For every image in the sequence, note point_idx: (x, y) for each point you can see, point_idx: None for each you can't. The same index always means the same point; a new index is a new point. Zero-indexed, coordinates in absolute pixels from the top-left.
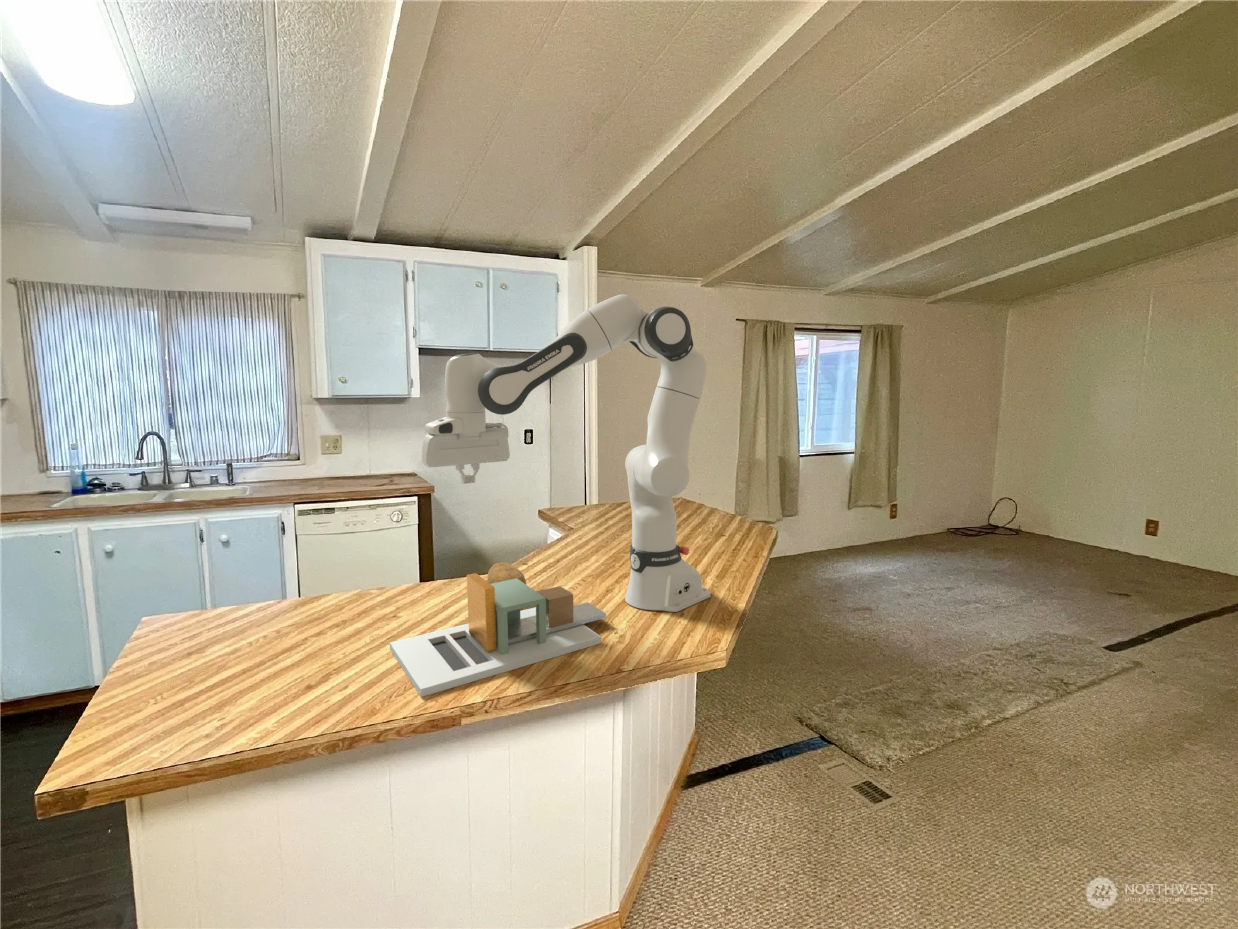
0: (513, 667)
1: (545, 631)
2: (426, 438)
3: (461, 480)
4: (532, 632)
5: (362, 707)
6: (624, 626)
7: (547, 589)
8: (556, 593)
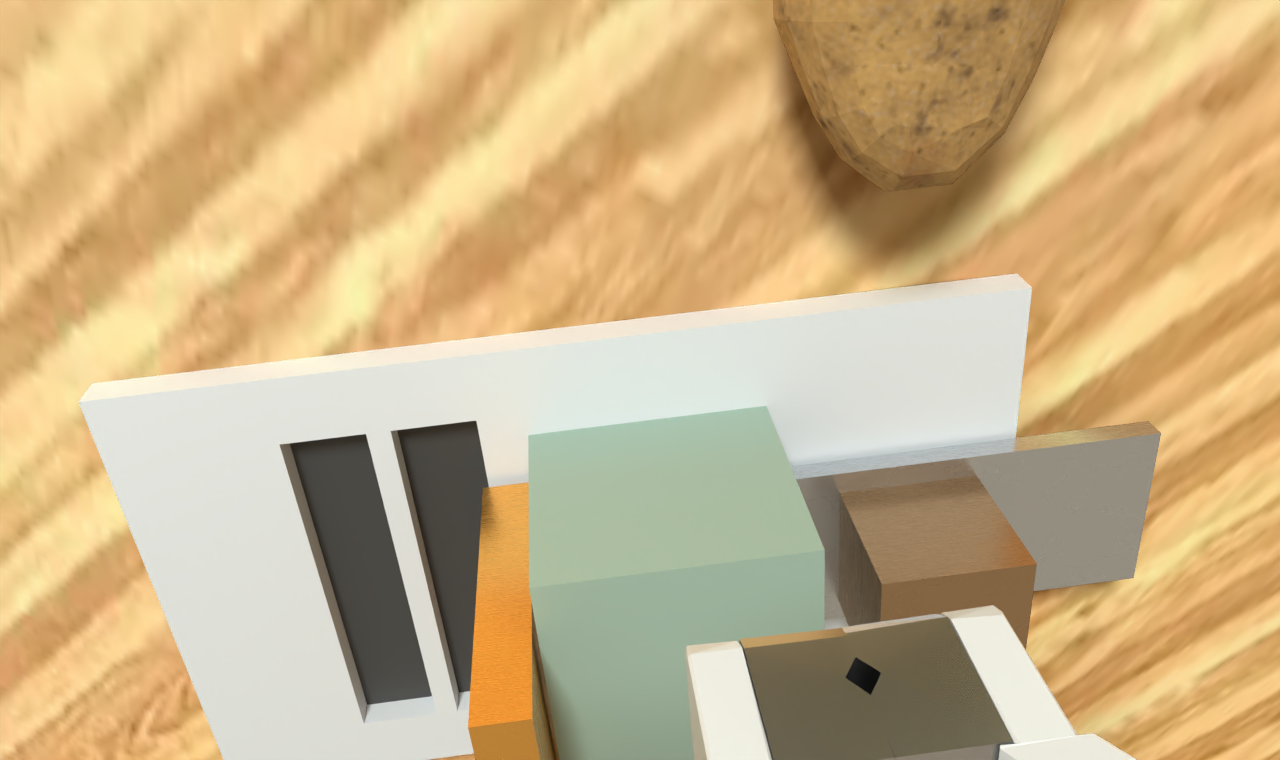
0: None
1: None
2: None
3: (695, 715)
4: None
5: (38, 752)
6: (1157, 576)
7: (950, 581)
8: None
